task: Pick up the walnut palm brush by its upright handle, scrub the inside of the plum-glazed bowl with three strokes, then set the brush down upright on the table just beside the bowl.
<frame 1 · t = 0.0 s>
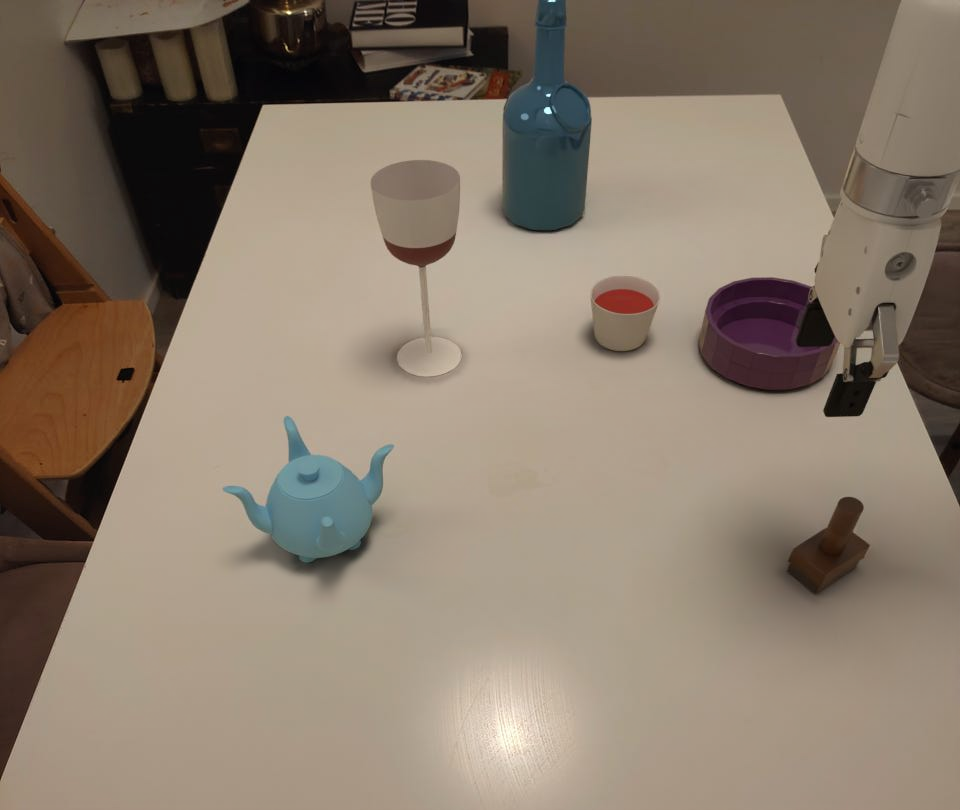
hand: (826, 378, 75), 22 cm above the table, tool pointing down, fingers open, 9 cm apart
brush: (821, 569, 91), on the table
wineglass: (429, 357, 114), on the table
candle: (619, 338, 116), on the table
teapot: (326, 534, 95), on the table
wine bottle: (543, 214, 135), on the table
bowl: (764, 352, 113), on the table
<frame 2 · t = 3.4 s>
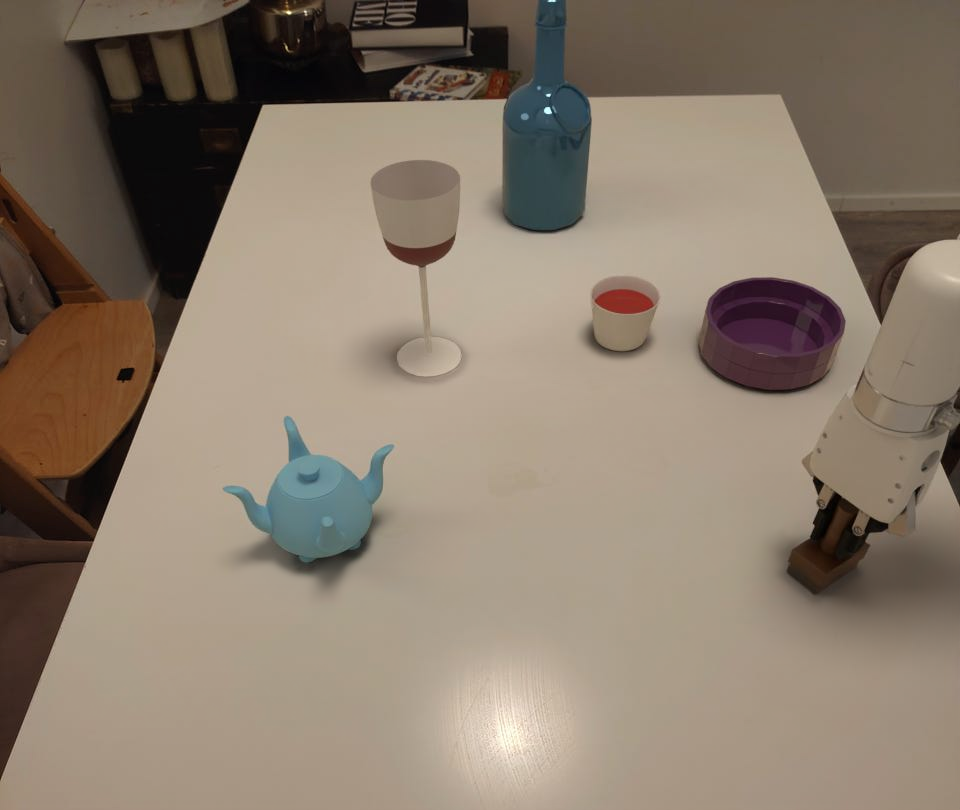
hand: (834, 541, 87), 4 cm above the table, tool pointing down, fingers closed on brush, 2 cm apart
brush: (821, 569, 91), on the table, touching gripper
everything else where it was.
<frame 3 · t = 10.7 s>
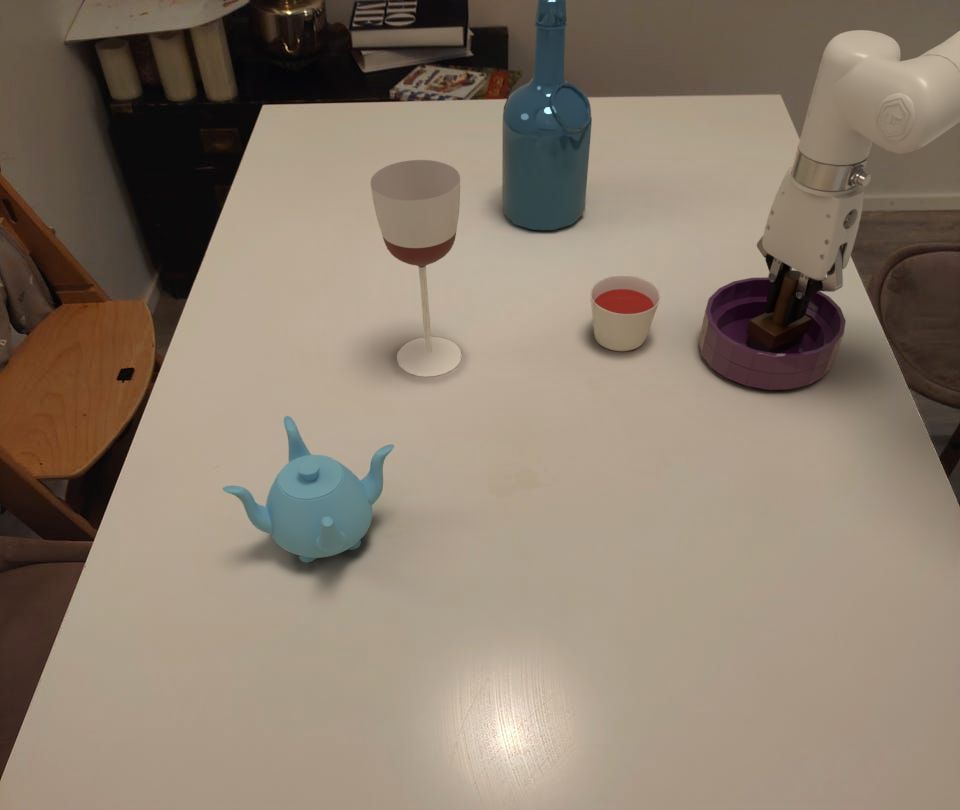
hand: (783, 314, 110), 5 cm above the table, tool pointing down, fingers closed on brush, 2 cm apart
brush: (773, 343, 113), point 1 cm above the table, touching gripper
everything else where it was.
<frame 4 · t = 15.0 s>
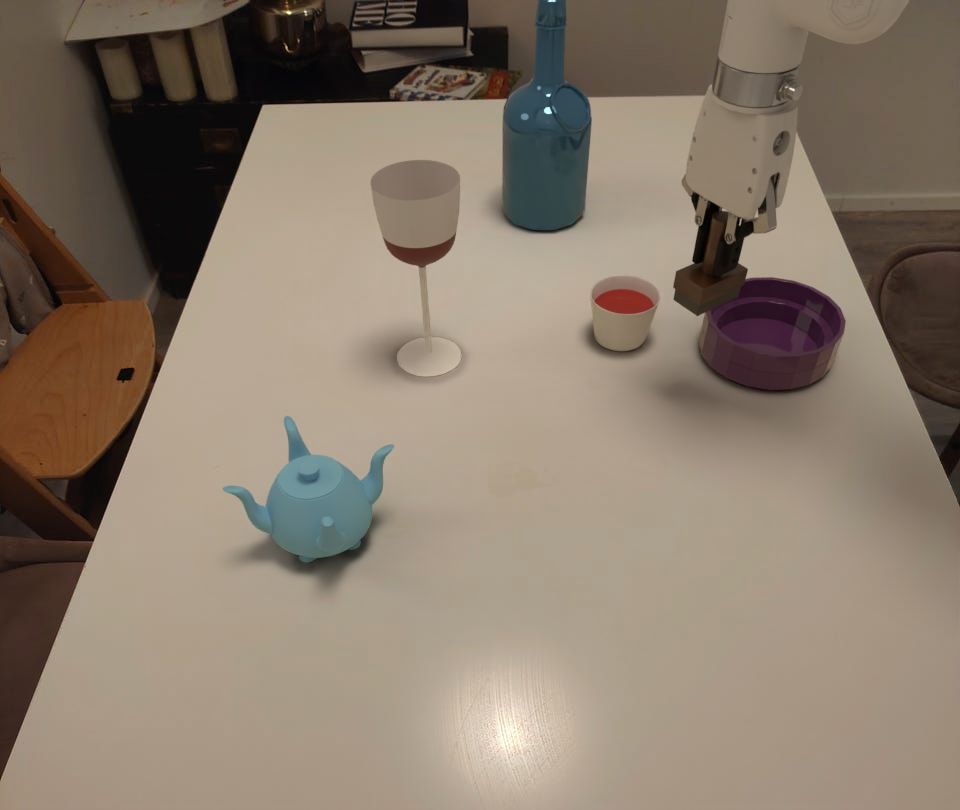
hand: (714, 264, 94), 17 cm above the table, tool pointing down, fingers closed on brush, 2 cm apart
brush: (705, 298, 98), point 13 cm above the table, touching gripper
everything else where it was.
when the fingers open (4 cm above the table, at t = 18.1 s): brush stays where it is, on the table.
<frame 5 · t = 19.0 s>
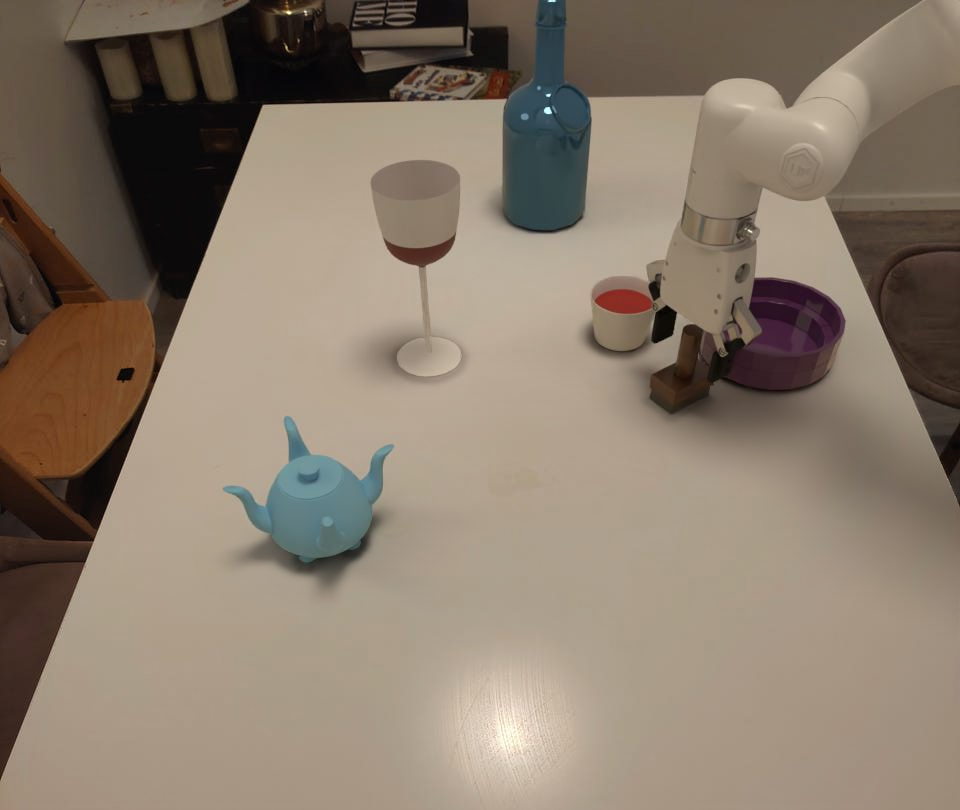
hand: (689, 358, 103), 6 cm above the table, tool pointing down, fingers open, 9 cm apart
brush: (679, 396, 108), on the table
everything else where it was.
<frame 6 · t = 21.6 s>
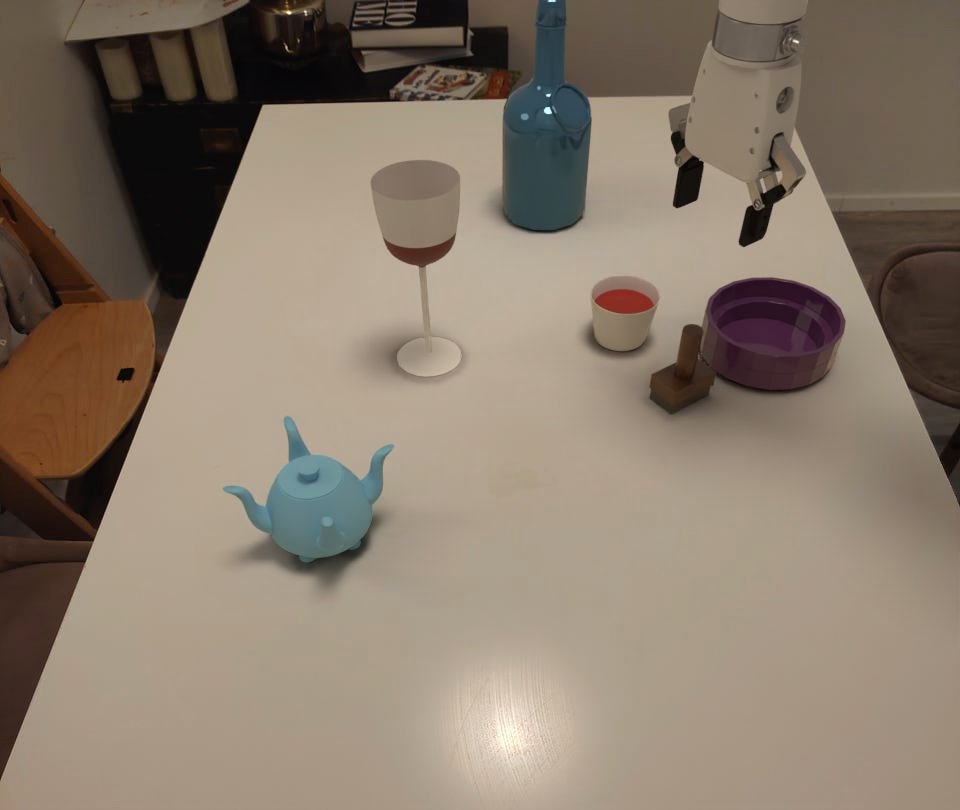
hand: (716, 222, 90), 22 cm above the table, tool pointing down, fingers open, 9 cm apart
nothing on the table moved.
at the end: brush 0.2 cm from the target spot on the table beside the bowl, on the table; brush tilted 0°; the gripper is holding nothing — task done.
